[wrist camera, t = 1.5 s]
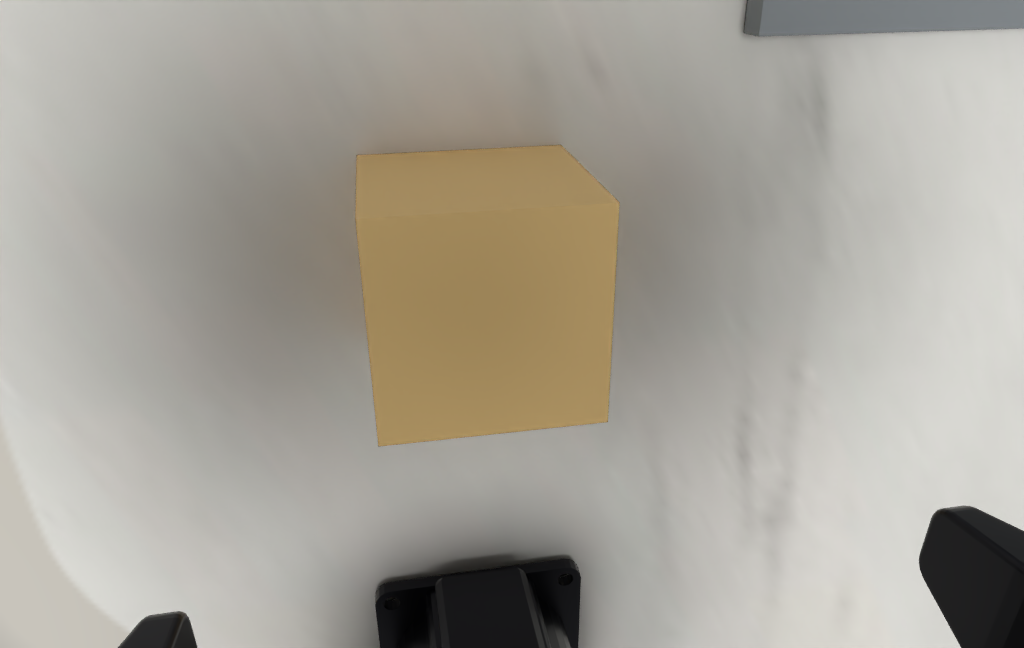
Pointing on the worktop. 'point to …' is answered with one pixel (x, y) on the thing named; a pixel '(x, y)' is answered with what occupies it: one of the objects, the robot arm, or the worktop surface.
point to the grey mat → (879, 16)
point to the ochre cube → (485, 291)
